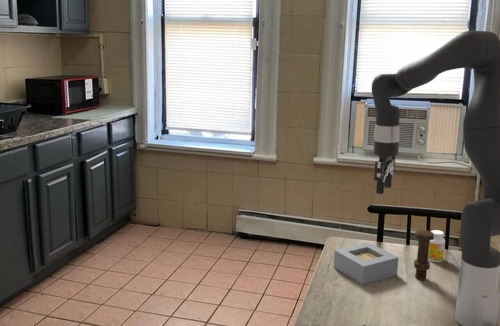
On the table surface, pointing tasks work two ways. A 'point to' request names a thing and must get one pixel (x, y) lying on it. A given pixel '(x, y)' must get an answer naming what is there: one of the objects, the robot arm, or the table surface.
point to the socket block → (365, 263)
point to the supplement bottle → (436, 247)
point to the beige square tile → (365, 256)
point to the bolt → (422, 253)
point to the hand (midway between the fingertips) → (384, 190)
